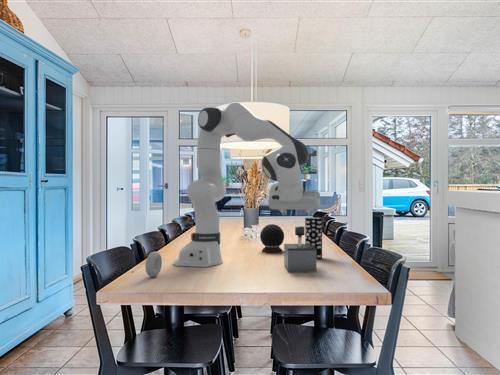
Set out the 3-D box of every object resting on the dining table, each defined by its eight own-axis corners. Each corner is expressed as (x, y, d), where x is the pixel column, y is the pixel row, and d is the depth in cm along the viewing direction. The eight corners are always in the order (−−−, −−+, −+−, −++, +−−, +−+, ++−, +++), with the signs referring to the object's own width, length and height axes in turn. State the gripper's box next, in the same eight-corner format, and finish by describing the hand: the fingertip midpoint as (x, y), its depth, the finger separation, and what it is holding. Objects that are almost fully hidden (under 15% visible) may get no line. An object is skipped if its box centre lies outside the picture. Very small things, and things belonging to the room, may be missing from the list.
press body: (287, 272, 154) (287, 248, 154) (284, 266, 166) (284, 243, 166) (316, 272, 154) (316, 248, 154) (310, 265, 166) (310, 243, 166)
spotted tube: (322, 260, 179) (322, 218, 179) (304, 259, 181) (304, 218, 181) (322, 256, 187) (322, 217, 187) (305, 256, 189) (305, 217, 189)
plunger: (292, 267, 156) (292, 227, 156) (289, 264, 164) (289, 225, 164) (310, 267, 156) (310, 227, 156) (306, 263, 164) (306, 225, 164)
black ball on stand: (268, 248, 212) (268, 222, 212) (288, 251, 204) (288, 224, 204) (255, 252, 201) (255, 224, 201) (276, 254, 193) (276, 226, 193)
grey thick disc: (151, 280, 141) (151, 254, 141) (143, 279, 141) (143, 253, 141) (163, 274, 150) (163, 249, 150) (155, 273, 151) (155, 249, 151)
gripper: (320, 184, 140) (322, 208, 149) (267, 184, 146) (273, 208, 155) (318, 196, 136) (321, 221, 145) (264, 196, 142) (270, 219, 151)
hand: (296, 214), depth 150 cm, fingers open, 8 cm apart
